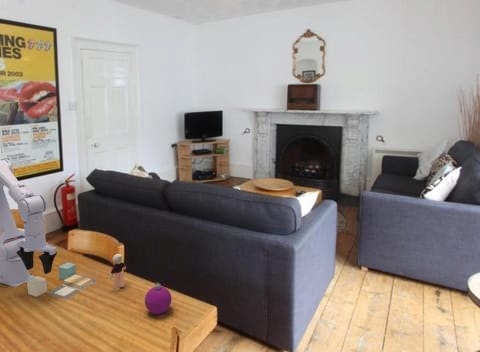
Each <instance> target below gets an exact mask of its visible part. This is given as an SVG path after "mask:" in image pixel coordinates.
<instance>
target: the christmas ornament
mask: <svg viewBox="0 0 480 352" xmlns="http://www.w3.org/2000/svg"><path fill="white" fill-rule="evenodd" d="M172 301H173V300H172V294H171V292H170V290H169V289H167V288H166V287H164V286H161V283H159V282H156V283H155V285H154V286H153V287H151V288H150V289H149V290H148V291H147V293H146V294H145V297H144V304H145V308H146V309H147V310H148V311H149V313H150V312H151V314H152V313H153V314H156V315H158V314H162V313H164V312H166V311H167V310H168V309H169V308H170V306H171V304H172Z"/></svg>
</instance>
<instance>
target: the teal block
mask: <svg viewBox="0 0 480 352" xmlns="http://www.w3.org/2000/svg"><path fill="white" fill-rule="evenodd" d="M58 274H59V279H60V280H65V279H67V278H69V277H71V276H73V275H77V265H76V264H74V263H71V262H66V263H64V264H61V265H60V266H58Z"/></svg>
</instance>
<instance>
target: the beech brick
mask: <svg viewBox="0 0 480 352" xmlns="http://www.w3.org/2000/svg"><path fill="white" fill-rule="evenodd" d="M82 276H83V275H81V276H79V275H78V274H76V275H73V276H71V277H69V278H67V279H65V280H63V279H62V280H63V284H64V285H67V286H70V287H73V288H76V289H80V290H81V289H83V288H84V287H86V286H88V285H90V284H91V283H92V280H91V279H92V278H91V279H89V278H90V277H88V278H86V277H87V276H84V277H82ZM91 285H92V284H91ZM91 285H90V286H91ZM88 287H89V286H88ZM86 288H87V287H86ZM83 290H84V289H83ZM81 291H82V290H81Z"/></svg>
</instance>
